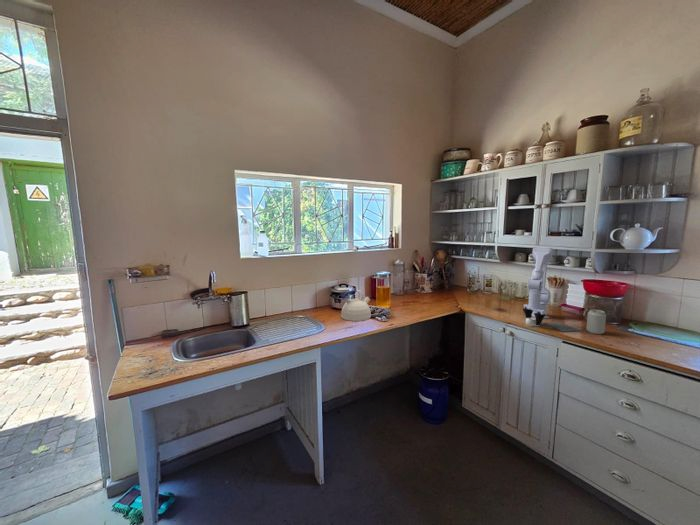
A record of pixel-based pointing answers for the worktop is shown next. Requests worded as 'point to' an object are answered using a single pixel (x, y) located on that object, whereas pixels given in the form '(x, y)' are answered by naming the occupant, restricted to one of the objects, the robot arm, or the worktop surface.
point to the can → (596, 321)
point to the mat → (561, 326)
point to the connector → (531, 322)
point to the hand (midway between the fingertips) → (533, 322)
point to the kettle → (356, 308)
